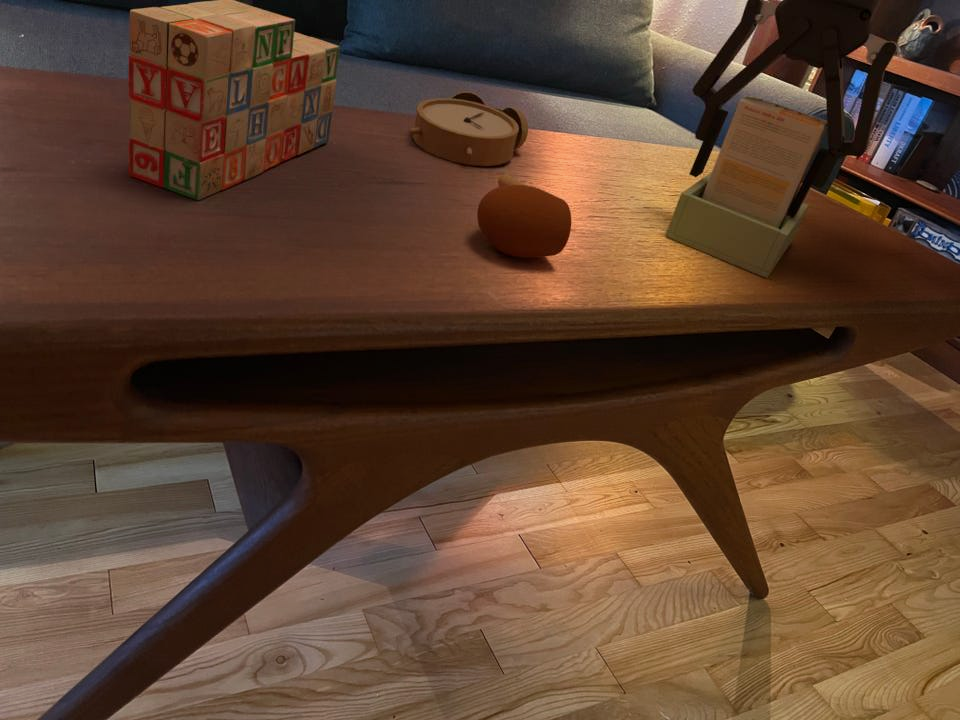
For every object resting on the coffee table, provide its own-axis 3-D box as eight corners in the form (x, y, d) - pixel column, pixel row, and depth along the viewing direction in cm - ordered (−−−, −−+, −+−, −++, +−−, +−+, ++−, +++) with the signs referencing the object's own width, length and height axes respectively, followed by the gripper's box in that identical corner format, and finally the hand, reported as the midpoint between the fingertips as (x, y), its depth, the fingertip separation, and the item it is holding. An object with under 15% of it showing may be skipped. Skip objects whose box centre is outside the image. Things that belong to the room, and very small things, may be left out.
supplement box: (774, 244, 82) (832, 121, 75) (765, 255, 78) (825, 127, 71) (701, 214, 84) (751, 93, 78) (688, 224, 81) (740, 97, 74)
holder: (790, 244, 85) (809, 204, 83) (766, 278, 74) (787, 234, 72) (699, 207, 88) (715, 169, 86) (664, 236, 77) (681, 192, 75)
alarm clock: (394, 111, 81) (466, 73, 92) (391, 154, 84) (460, 113, 95) (488, 148, 78) (551, 105, 89) (480, 191, 81) (542, 145, 92)
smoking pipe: (476, 261, 62) (493, 193, 59) (454, 178, 77) (467, 120, 74) (561, 275, 63) (582, 209, 60) (523, 191, 79) (538, 135, 76)
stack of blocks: (273, 124, 78) (286, -8, 72) (329, 143, 77) (347, 12, 71) (127, 176, 60) (127, 5, 53) (198, 202, 59) (207, 32, 53)
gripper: (724, -88, 68) (632, 157, 79) (990, -8, 61) (847, 247, 73) (742, -80, 74) (654, 146, 85) (986, -6, 67) (854, 229, 79)
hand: (743, 193), depth 79 cm, fingers open, 10 cm apart
